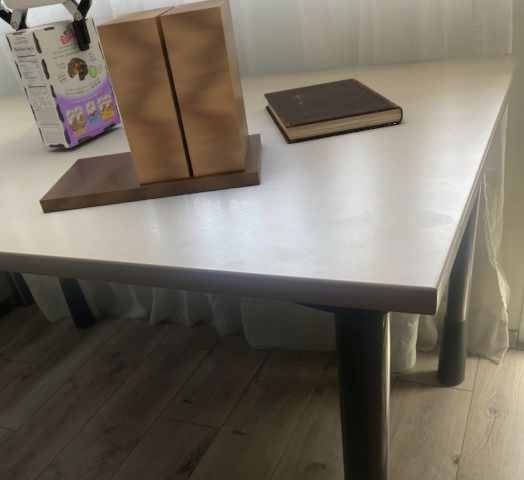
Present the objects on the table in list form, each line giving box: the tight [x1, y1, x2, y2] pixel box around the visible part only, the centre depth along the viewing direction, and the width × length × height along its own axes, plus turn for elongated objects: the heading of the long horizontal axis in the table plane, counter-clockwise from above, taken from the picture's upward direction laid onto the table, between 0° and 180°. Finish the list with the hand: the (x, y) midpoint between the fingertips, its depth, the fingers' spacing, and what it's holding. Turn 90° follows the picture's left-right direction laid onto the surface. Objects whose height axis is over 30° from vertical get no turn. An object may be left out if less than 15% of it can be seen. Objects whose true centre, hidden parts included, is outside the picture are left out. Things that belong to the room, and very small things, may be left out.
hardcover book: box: [263, 77, 404, 144], centre depth 81 cm, size 16×23×2 cm
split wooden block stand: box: [38, 0, 262, 213], centre depth 63 cm, size 26×16×18 cm, turn 89°
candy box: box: [4, 16, 122, 149], centre depth 85 cm, size 14×6×16 cm, turn 155°
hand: (59, 53), depth 83 cm, fingers closed on candy box, 7 cm apart
